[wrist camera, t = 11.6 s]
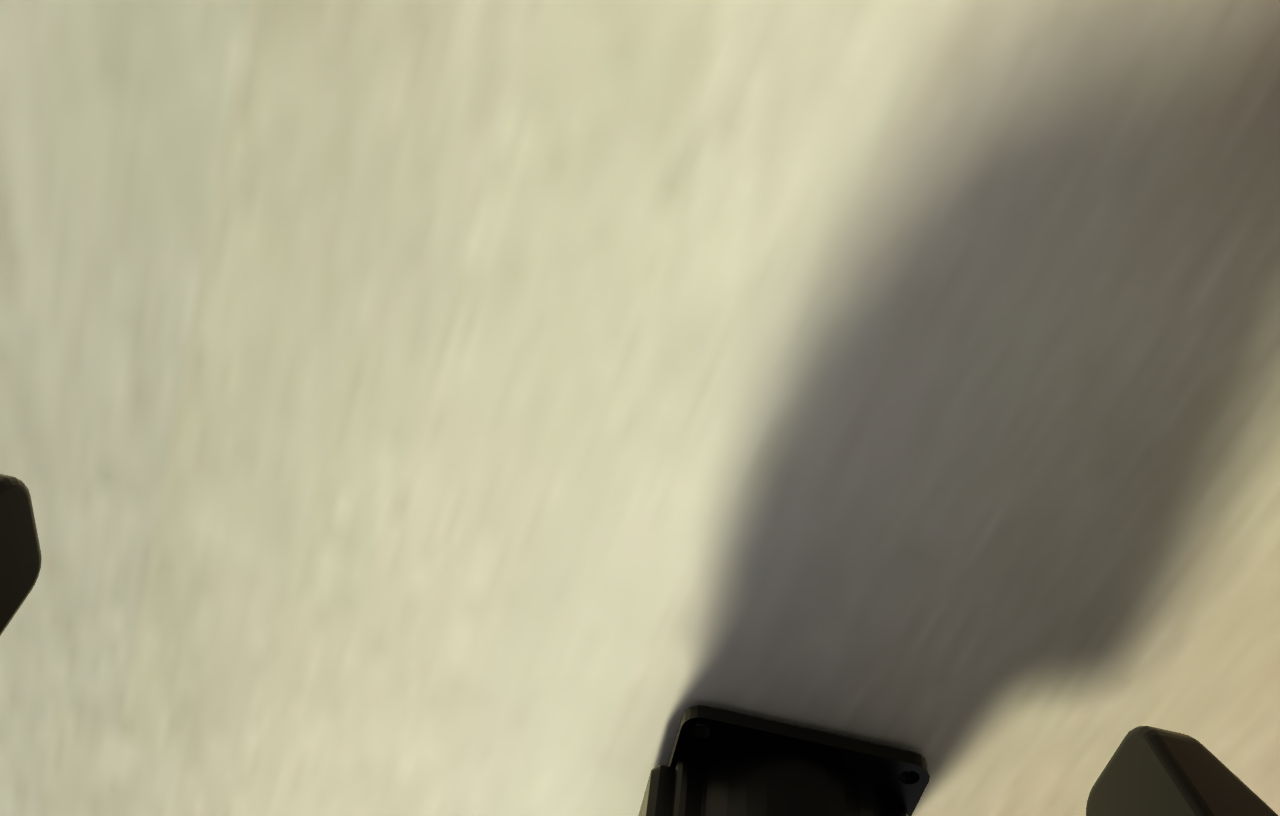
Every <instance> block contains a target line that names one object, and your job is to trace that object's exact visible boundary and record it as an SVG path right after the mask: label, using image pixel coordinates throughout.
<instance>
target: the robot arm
mask: <svg viewBox="0 0 1280 816" xmlns="http://www.w3.org/2000/svg"><path fill="white" fill-rule="evenodd" d="M40 568H41V550H40V545H39V540H38V534H37V529H36V523H35V518H34V513H33V507H32V502H31V496H30V493H29V490H28V488H27V487H26V486H25V484H24V483H23V482H22V481H21V480H19V479H17V478H15V477H12V476H7V475H3V474H0V635H1V634H2V633H3V631H4V630H5V628H6V627H7V625H8V624H9V622H10V621H11V619H12V618H13V616H14V615H15V613H16V612H17V611H18V609H19V608H20V606H21V605H22V603H23V602H24V600H25V599H26V597H27V596H28V594H29V593H30V591H31V590H32V588H33V586H34V585H35V583H36V580H37V578H38V575H39V572H40ZM696 724H703V725H706V726H698V725H696ZM908 771H910V772H908ZM929 777H930V776H929V770H928V765H927V762H926V759H925V758H924V757H923V756H921V755H920V754H917V753H915V752H911V751H907V750H902V749H898V748H893V747H889V746H884V745H880V744H875V743H871V742H866V741H862V740H857V739H852V738H848V737H843V736H839V735H834V734H830V733H825V732H821V731H816V730H812V729H807V728H803V727H798V726H794V725H789V724H785V723H780V722H776V721H771V720H767V719H762V718H758V717H753V716H749V715H744V714H740V713H735V712H731V711H726V710H722V709H717V708H713V707H708V706H700V705H697V706H693V707H690V708H688V709H687V710H686V711H685V712H684V714H683V716H682V719H681V723H680V726H679V729H678V733H677V736H676V740H675V743H674V746H673V750H672V753H671V757H670V760H669V764H668V766H666V765H661V764H660V765H658V766H657V767H655V768H654V769H653V770H651V773H650V777H649V780H648V784H647V788H646V791H645V795H644V798H643V802H642V805H641V809H640V812H639V816H911V815H912V813H913V811H914V809H915V807H916V805H917V803H918V802H919V800H920V798H921V796H922V794H923V792H924V790H925V788H926V786H927V784H928V782H929ZM1086 816H1278V815H1277V814H1276V813H1275V812H1274V811H1273V810H1272V809H1271V808H1270V807H1269V806H1268V805H1266V804H1265V803H1264V802H1263V801H1262V800H1261V799H1260V798H1259V797H1258V796H1257V795H1256V794H1255V793H1254V792H1253V791H1251V790H1250V789H1249V788H1248V787H1247V786H1246V785H1245V784H1244V783H1243V782H1242V781H1241V780H1240V779H1239V778H1237V777H1236V776H1235V775H1234V774H1233V773H1232V772H1231V771H1230V770H1229V769H1228V768H1227V767H1226V766H1225V765H1224V764H1222V763H1221V762H1220V761H1219V760H1218V759H1217V758H1216V757H1215V756H1214V755H1213V754H1212V753H1211V752H1210V751H1209V750H1207V749H1206V748H1205V747H1204V746H1203V745H1202V744H1201V743H1200V742H1199V741H1197V740H1196V739H1194V738H1192V737H1190V736H1188V735H1185V734H1181V733H1177V732H1172V731H1168V730H1163V729H1159V728H1154V727H1149V726H1139V727H1136V728H1135V729H1133V730H1131V731H1130V732H1129V733H1128V734H1127V735H1126V736H1125V738H1124V739H1123V741H1122V742H1121V744H1120V746H1119V747H1118V749H1117V750H1116V752H1115V753H1114V755H1113V756H1112V758H1111V759H1110V761H1109V762H1108V764H1107V766H1106V767H1105V769H1104V770H1103V772H1102V773H1101V775H1100V776H1099V778H1098V779H1097V781H1096V782H1095V784H1094V786H1093V787H1092V789H1091V792H1090V794H1089V797H1088V801H1087V807H1086Z"/></svg>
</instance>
